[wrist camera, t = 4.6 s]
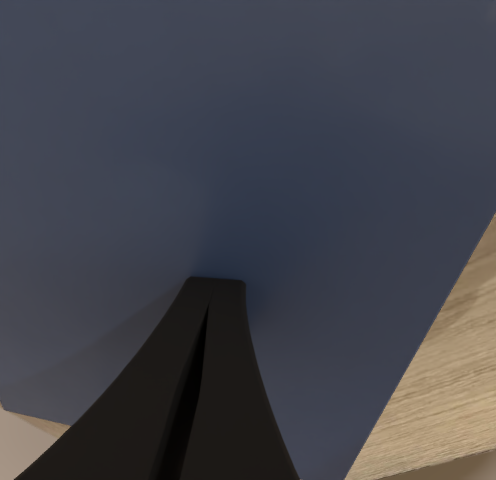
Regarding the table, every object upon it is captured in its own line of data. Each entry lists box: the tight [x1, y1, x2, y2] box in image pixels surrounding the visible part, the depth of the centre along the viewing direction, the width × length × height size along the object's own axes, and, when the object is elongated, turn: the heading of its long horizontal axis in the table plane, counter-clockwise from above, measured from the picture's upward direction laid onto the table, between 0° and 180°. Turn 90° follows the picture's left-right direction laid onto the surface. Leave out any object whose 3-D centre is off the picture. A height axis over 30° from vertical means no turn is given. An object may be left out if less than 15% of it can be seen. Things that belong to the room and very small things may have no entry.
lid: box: [0, 0, 496, 480], centre depth 11 cm, size 12×16×1 cm
